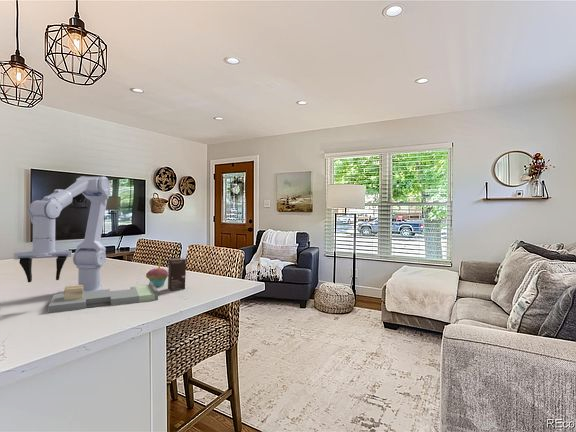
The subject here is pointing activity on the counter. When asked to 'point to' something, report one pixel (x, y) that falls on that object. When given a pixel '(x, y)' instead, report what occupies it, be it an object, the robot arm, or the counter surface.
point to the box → (176, 273)
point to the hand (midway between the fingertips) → (43, 280)
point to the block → (73, 292)
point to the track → (104, 298)
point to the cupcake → (157, 276)
